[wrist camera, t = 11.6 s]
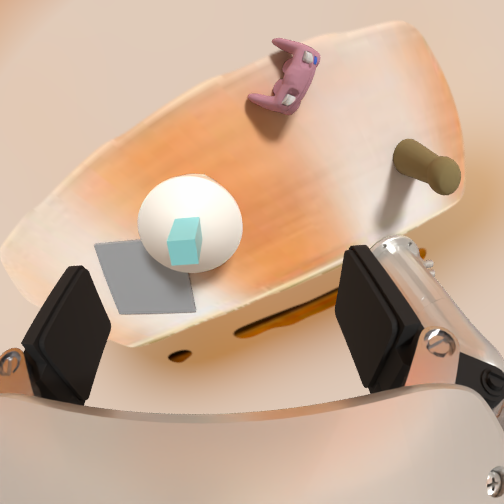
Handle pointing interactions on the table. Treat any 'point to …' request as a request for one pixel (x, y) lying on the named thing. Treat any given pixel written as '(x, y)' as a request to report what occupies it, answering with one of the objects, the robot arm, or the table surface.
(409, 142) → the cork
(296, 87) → the video game controller
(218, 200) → the lid
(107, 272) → the mat
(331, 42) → the table surface
